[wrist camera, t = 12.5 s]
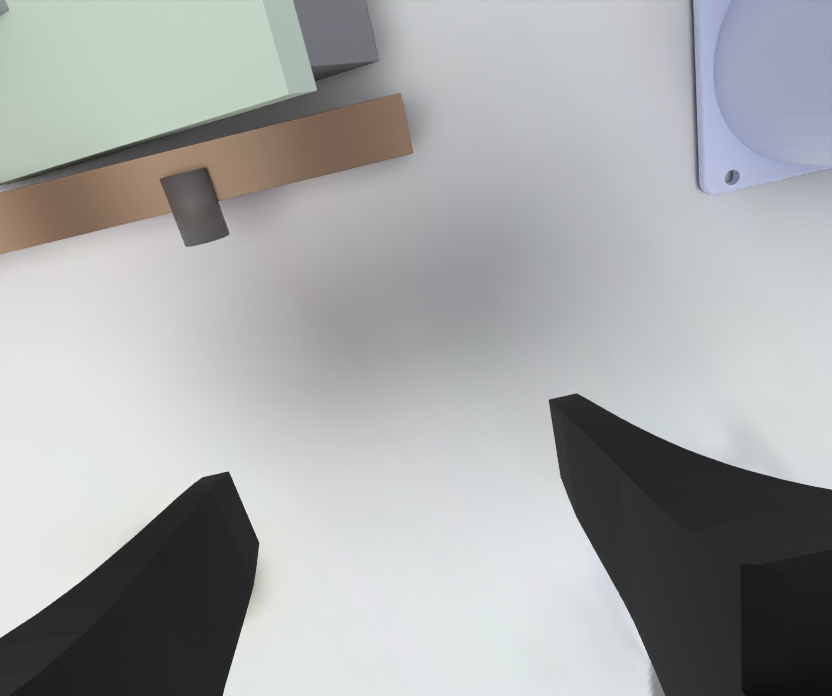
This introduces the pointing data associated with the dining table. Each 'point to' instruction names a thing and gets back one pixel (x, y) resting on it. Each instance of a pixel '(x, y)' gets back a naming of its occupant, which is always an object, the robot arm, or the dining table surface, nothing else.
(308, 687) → the dining table surface
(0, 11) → the grey block
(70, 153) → the trapdoor
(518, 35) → the dining table surface
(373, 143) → the frame
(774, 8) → the robot arm
